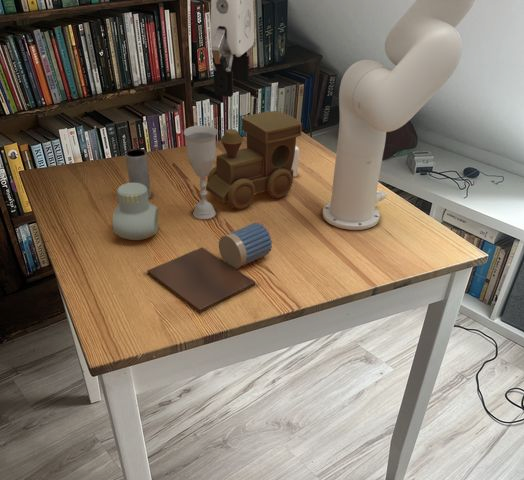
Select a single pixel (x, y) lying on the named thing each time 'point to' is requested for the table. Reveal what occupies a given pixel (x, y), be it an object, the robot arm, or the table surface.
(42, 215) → the table surface
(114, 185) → the table surface
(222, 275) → the walnut board
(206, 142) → the chalice
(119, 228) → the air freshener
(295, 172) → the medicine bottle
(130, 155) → the grey pipe
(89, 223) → the table surface
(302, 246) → the table surface
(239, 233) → the tea cup
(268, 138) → the wooden toy train
